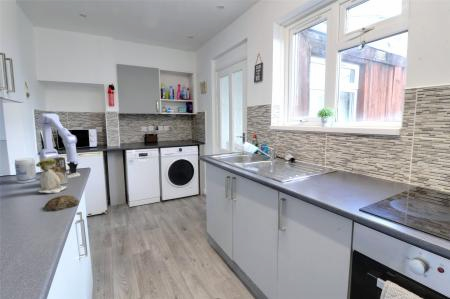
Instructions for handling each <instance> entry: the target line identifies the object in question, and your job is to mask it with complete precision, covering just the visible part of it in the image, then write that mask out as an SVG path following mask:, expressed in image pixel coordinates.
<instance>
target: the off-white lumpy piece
mask: <svg viewBox="0 0 450 299" xmlns="http://www.w3.org/2000/svg"><path fill="white" fill-rule="evenodd" d="M58 164H59V162H56V160H55V159H51V158H48V159H42V160H39V161H38V162H36V163H35V167H38V168H40V169H41V170H42V171H41V173H40V177H39V183H40V188H39V189H37V190H36V191H37V192H38V193H42V194H44V193H45V194H53V193H55V194H57V193H58V194H59V193H60V192H61V191H63V190H65V189H67V186H63V185H59V184H58V183H60V179H59V177H58V176H57V175H56V174H55V173H54V172H53V171H52V170H51V168H52V167H53V166H57V165H58Z"/></svg>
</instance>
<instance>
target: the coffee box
mask: <svg viewBox="0 0 450 299" xmlns="http://www.w3.org/2000/svg"><path fill="white" fill-rule="evenodd" d="M51 159H55V160H56V162H59V164H58V165H57V166H53V167H52V168H51V170H52V171H53V172H54V173H55V174H56V175H57V176H58V177H59V179H60V183H58V184H59V185H60V186H62V185H64V184H69V178H68V177H67V170H68V169H67V163H66V158H65V157H62V156H60V157H58V158H51Z"/></svg>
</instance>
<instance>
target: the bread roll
mask: <svg viewBox="0 0 450 299" xmlns="http://www.w3.org/2000/svg"><path fill="white" fill-rule="evenodd" d="M79 202H80V201H79V199H78V198H76V197H75V196H73V195H70V194H68V195H67V194H66V195H65V194H64V195H63V194H62V195H59V196H55V197H53V198H51V199H50V200H48V201H47V202H46V203H45V205H44V211H45V212H53V211H54V212H55V211H56V212H59V211H64V210H67V209H71V208H74V207H76V206H78V205H79Z"/></svg>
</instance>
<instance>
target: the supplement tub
mask: <svg viewBox="0 0 450 299" xmlns="http://www.w3.org/2000/svg"><path fill="white" fill-rule="evenodd" d="M14 168H15V169H14V170H15V174H16V175H15V176H16V183H18V184H27V183H28V184H29V183H33V182H36V181H37V179H38V178H37V170H36V163H35V158H34V157H24V158H17V159H14Z"/></svg>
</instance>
